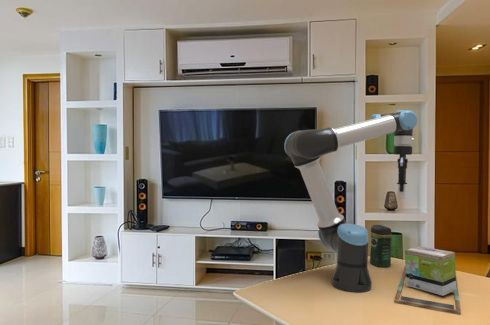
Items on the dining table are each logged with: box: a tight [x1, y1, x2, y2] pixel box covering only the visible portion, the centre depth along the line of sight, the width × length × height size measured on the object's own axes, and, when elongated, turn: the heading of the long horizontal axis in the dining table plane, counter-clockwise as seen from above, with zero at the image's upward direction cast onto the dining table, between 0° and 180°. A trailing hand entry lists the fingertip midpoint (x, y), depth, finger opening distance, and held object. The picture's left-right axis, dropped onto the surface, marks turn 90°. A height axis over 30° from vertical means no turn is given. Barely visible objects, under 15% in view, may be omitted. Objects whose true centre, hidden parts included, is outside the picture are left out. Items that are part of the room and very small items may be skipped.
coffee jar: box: [369, 224, 393, 268], centre depth 180 cm, size 10×8×19 cm
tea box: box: [404, 245, 457, 297], centre depth 148 cm, size 15×10×15 cm
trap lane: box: [393, 264, 462, 316], centre depth 151 cm, size 20×47×1 cm, turn 153°
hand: (401, 198), depth 170 cm, fingers closed
